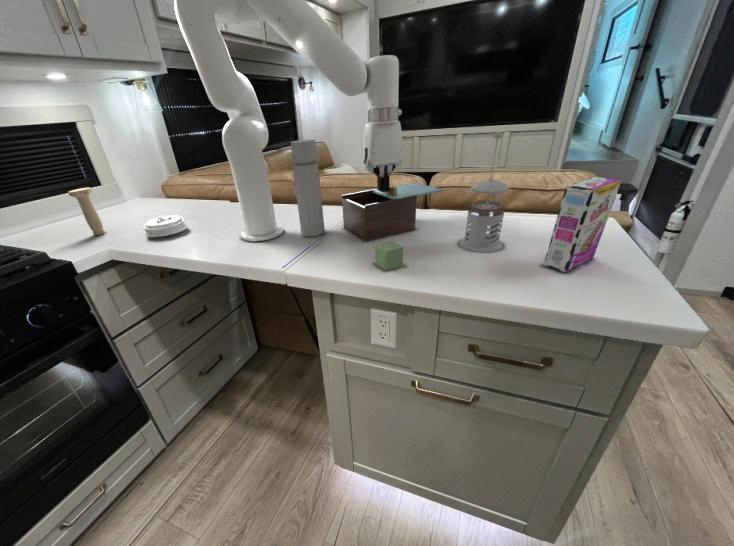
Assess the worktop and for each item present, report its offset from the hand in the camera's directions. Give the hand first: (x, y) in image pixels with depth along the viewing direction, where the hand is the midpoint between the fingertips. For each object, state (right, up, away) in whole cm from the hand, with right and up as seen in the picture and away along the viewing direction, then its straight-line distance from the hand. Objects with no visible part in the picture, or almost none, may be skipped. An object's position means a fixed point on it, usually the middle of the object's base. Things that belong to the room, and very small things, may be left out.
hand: (383, 191), depth 92 cm
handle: (-96, -8, +22) cm, 99 cm away
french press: (+23, -17, -10) cm, 30 cm away
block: (-1, -23, -17) cm, 28 cm away
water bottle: (-20, -10, +7) cm, 23 cm away
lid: (-70, -8, +17) cm, 72 cm away
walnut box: (-1, -10, +5) cm, 11 cm away
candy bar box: (+36, -23, -22) cm, 48 cm away
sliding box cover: (+7, +1, +3) cm, 8 cm away
